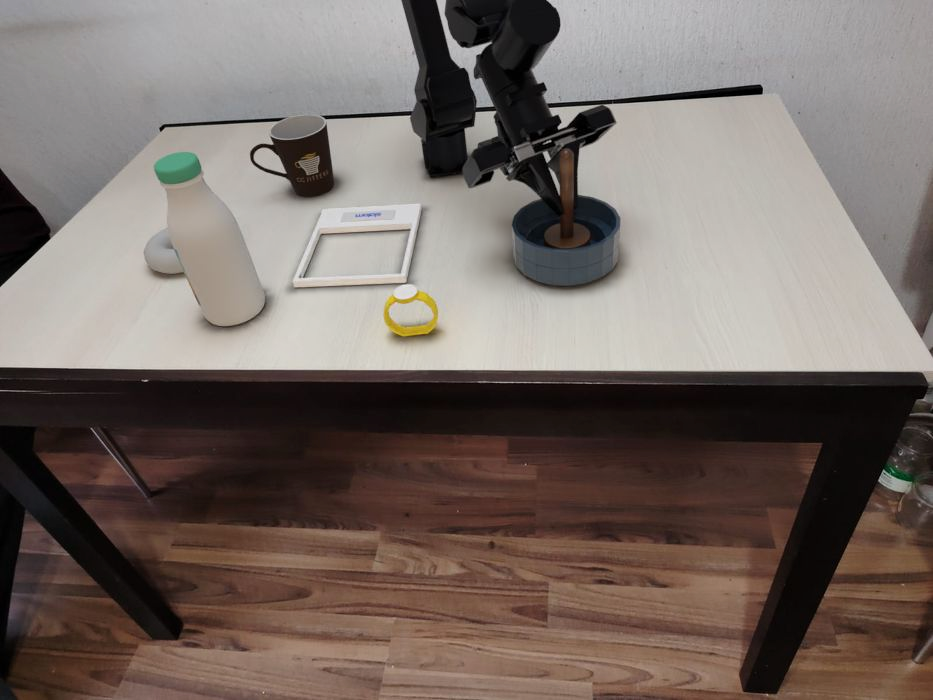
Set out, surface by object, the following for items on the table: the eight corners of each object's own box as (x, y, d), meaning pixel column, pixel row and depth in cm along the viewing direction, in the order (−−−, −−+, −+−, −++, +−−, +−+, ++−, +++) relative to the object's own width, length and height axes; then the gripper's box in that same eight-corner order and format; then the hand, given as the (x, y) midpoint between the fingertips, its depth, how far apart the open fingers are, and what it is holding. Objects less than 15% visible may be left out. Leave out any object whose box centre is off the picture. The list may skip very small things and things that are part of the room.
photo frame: (420, 202, 97) (404, 275, 83) (421, 209, 97) (406, 282, 84) (322, 207, 98) (291, 280, 85) (324, 214, 99) (294, 287, 86)
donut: (194, 283, 89) (235, 241, 96) (183, 262, 87) (227, 220, 93) (134, 274, 92) (179, 234, 99) (123, 254, 90) (169, 214, 96)
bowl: (601, 225, 90) (603, 188, 86) (631, 280, 80) (634, 241, 76) (506, 239, 89) (504, 202, 86) (524, 296, 80) (522, 258, 76)
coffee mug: (346, 172, 109) (331, 112, 102) (334, 199, 102) (318, 137, 96) (277, 176, 110) (259, 117, 103) (262, 203, 104) (241, 142, 97)
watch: (441, 322, 78) (434, 281, 74) (440, 338, 76) (433, 296, 72) (390, 326, 78) (380, 285, 74) (388, 342, 76) (378, 300, 72)
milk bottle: (279, 296, 85) (226, 147, 71) (240, 333, 80) (176, 181, 66) (232, 285, 88) (173, 140, 74) (191, 320, 83) (121, 172, 69)
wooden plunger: (598, 258, 82) (602, 151, 73) (559, 273, 81) (557, 166, 71) (574, 237, 86) (574, 133, 76) (536, 251, 85) (531, 147, 75)
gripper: (554, 102, 89) (601, 208, 89) (430, 144, 84) (480, 257, 84) (590, 57, 79) (644, 177, 79) (451, 102, 73) (509, 231, 73)
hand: (568, 211), depth 79 cm, fingers closed on wooden plunger
